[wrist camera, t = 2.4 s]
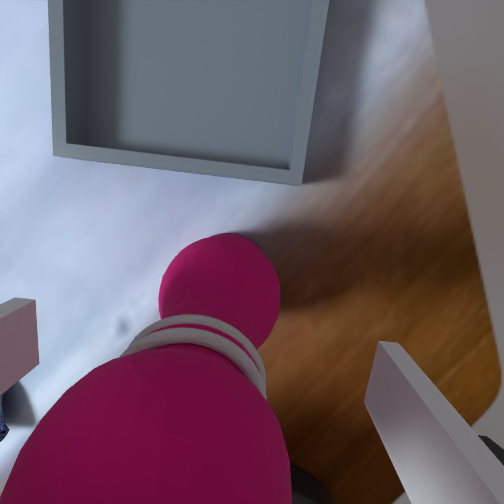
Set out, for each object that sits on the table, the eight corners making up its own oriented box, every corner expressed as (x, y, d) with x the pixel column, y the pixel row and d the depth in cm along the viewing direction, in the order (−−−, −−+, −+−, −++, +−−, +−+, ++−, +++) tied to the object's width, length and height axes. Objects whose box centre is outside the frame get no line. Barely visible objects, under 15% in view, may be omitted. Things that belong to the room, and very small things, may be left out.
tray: (295, 185, 21) (301, 185, 18) (82, 159, 21) (53, 155, 18) (333, -75, 17) (348, -127, 14) (79, -107, 17) (42, -166, 14)
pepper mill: (266, 217, 21) (360, 616, 2) (284, 308, 23) (436, 1050, 3) (169, 236, 22) (-619, 724, 2) (193, 325, 23) (-137, 1059, 4)
